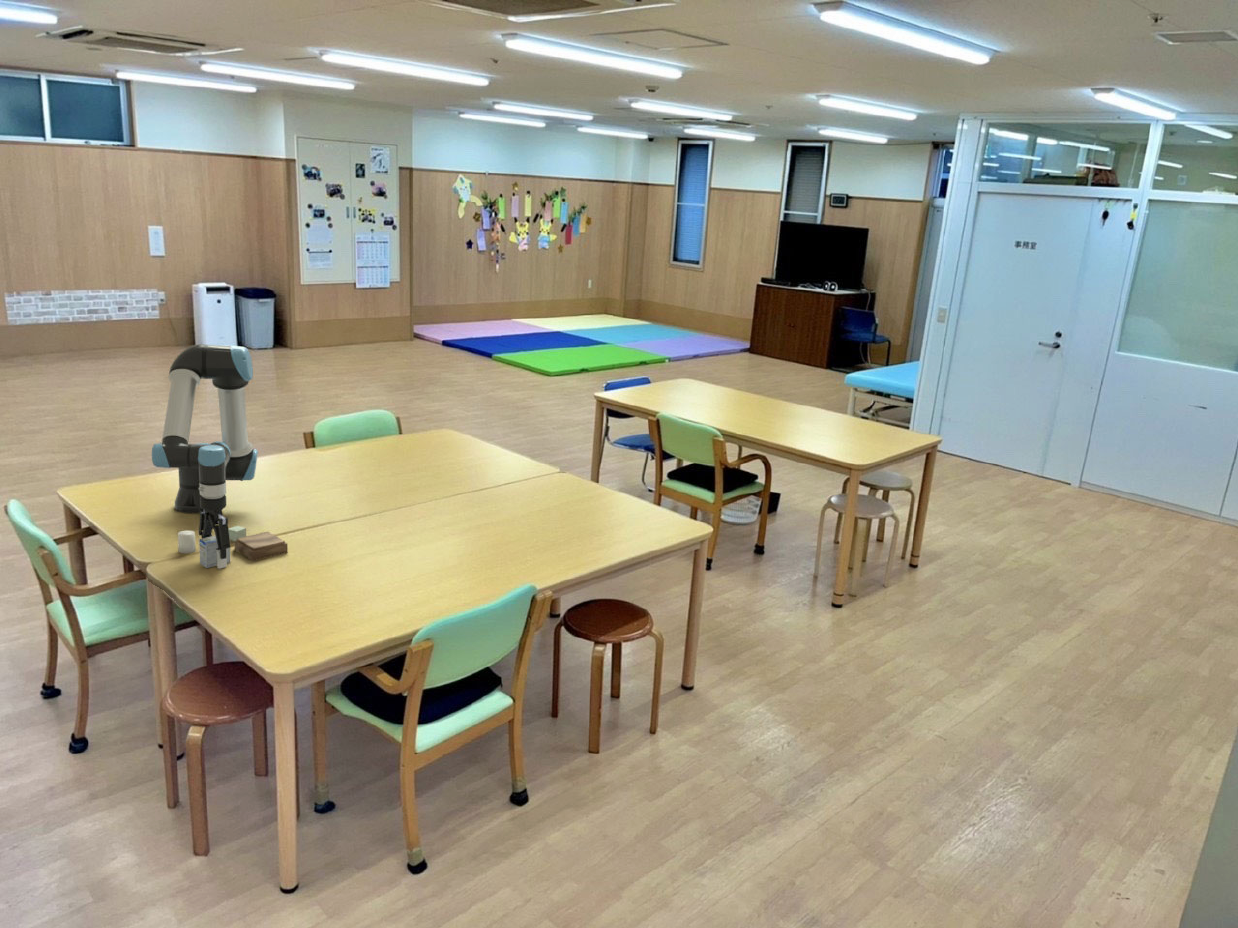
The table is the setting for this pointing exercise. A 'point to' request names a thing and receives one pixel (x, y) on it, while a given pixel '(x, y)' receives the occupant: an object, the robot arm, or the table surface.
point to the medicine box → (210, 552)
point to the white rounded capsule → (186, 541)
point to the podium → (260, 546)
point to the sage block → (236, 533)
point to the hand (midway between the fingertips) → (215, 562)
